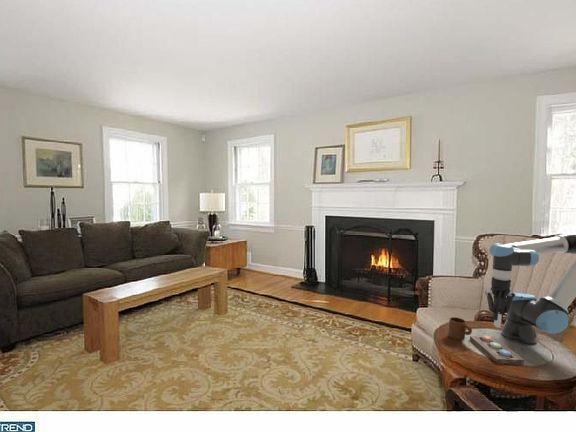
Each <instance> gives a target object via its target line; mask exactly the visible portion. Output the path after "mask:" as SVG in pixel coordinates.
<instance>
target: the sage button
mask: <svg viewBox="0 0 576 432" xmlns="http://www.w3.org/2000/svg"><path fill="white" fill-rule="evenodd" d="M490 348H492V349H493V350H500V349H501V345H500V344H498V343H495V342H490Z"/></svg>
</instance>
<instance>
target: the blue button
mask: <svg viewBox="0 0 576 432" xmlns="http://www.w3.org/2000/svg"><path fill="white" fill-rule="evenodd" d="M499 355H500V356H501V357H503V358H510V356H511V353H510V352H509V351H507V350H503V349H500V350H499Z"/></svg>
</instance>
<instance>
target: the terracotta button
mask: <svg viewBox="0 0 576 432" xmlns="http://www.w3.org/2000/svg"><path fill="white" fill-rule="evenodd" d="M481 336H482V341H483V342H486V343H490V342H492V338H491V337H492V336H489V335H481Z"/></svg>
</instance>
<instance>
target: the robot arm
mask: <svg viewBox="0 0 576 432" xmlns="http://www.w3.org/2000/svg"><path fill="white" fill-rule="evenodd" d="M553 253H555V254H556V253H557V254H573V255H576V232H569V233H562V234H556V235H553V236H552V237H547V238H542V239H540V238H539V239H533V240H526V241H520V242H513V243H504V244H503V243H501V242H500V243H498V242H497V243H492V244H491V245H490V246H489V254H490V256H491V257H492V258H493V259H492V270H491V276H492V277H491V281H490V282H491V287H490V290H488V291H485V292H484V294H485V295H486V300H487V304H488V310H489V312H491V313H493V314H492V316H493V317H492V319H493V322H494V323H493V326H494V327H495V328H497V329H501V333H500V334H501V335H502V336H503V337H504V336H505V339H506V338H507V339H508V340H511V341H514V342H516V343H521V344H530V345H531V344H535V343H537V342H538V338H537V337H538V336H537V333H536V329H535V327H536V328H537V329H539V330H540V331H543V332H546V333H549V334H558V333H561V332H564V330H565V329H566V328H567V327H568V325H569V321H570V320H569V317H568V314H569V310H568V307H569V306H570V305H571V304H572V302H573V301H574V300H575V299H576V259H575V260H574V261H573V263H572V264H571V265H570V266H569V268H568V269H567V270H566V271H565V273H564V274H563V275H562V277H561V278H560V279H559V281H557V282H556V284H555V285H554V287H553V288H552V290H551V291H550V292H549V293H548V294H547V295H546V296H541V297H540V298H539V300H538V298H537V296H536V295H533V294H530V293H519V292H512V291H511V285H512V284H511V283H512V280H511V279H512V273H513V272H512V270H513V267H514V266H515V267H517V266H519V267H529V266H532V267H533V266H536V265H537V264H538V263H539V259H540V258H539V257H540V255H546V254H553ZM537 300H538V301H537ZM505 315H506V320H505V322H504V324H503V326H502V321H504V316H505Z"/></svg>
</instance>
